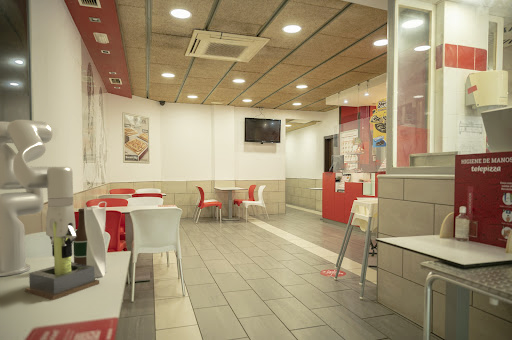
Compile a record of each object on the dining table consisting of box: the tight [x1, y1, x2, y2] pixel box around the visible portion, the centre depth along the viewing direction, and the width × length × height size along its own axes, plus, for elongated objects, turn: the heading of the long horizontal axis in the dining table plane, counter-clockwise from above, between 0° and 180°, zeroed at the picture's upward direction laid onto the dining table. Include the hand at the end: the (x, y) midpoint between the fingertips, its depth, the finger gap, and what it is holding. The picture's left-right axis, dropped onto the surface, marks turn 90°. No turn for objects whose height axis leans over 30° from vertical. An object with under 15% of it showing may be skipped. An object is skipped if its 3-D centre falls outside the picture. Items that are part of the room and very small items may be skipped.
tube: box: [53, 222, 72, 275], centre depth 113 cm, size 6×5×20 cm
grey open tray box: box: [24, 261, 100, 301], centre depth 113 cm, size 16×16×6 cm
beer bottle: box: [72, 207, 88, 265], centre depth 139 cm, size 8×8×24 cm
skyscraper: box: [84, 200, 108, 278], centre depth 126 cm, size 8×8×28 cm
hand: (62, 255), depth 113 cm, fingers closed on tube, 4 cm apart
